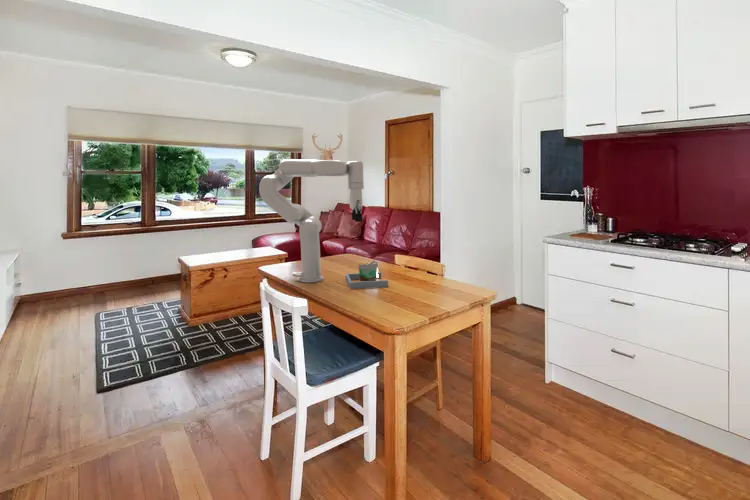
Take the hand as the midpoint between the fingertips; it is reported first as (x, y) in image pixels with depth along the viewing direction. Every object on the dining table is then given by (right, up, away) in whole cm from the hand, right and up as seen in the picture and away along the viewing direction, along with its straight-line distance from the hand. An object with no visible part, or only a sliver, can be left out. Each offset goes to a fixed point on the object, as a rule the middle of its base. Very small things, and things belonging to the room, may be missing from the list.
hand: (356, 220), depth 211 cm
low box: (+5, -31, -1) cm, 32 cm away
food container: (+7, -31, -1) cm, 32 cm away
